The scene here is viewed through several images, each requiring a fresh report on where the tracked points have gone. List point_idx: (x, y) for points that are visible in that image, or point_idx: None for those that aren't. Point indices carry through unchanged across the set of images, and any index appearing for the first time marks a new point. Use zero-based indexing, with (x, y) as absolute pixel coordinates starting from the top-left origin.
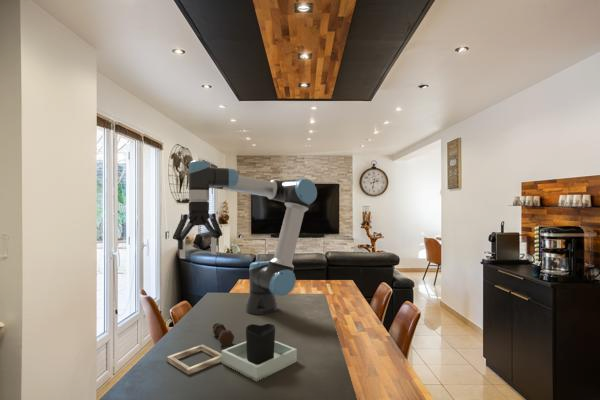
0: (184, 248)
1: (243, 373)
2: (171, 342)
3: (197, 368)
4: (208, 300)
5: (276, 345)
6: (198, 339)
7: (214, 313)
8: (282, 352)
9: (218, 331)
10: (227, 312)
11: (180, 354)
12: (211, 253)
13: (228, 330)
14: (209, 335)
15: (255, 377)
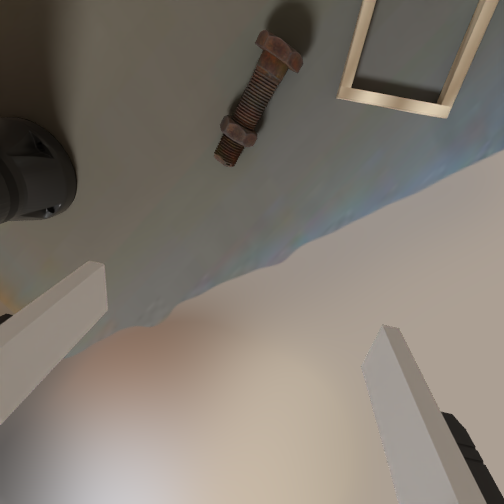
0: (425, 404)
1: None
2: (339, 205)
3: None
4: (96, 333)
5: None
6: (292, 159)
7: (143, 259)
8: None
9: (261, 110)
10: (115, 237)
11: (416, 100)
12: (105, 307)
13: (270, 45)
14: (256, 155)
15: None
